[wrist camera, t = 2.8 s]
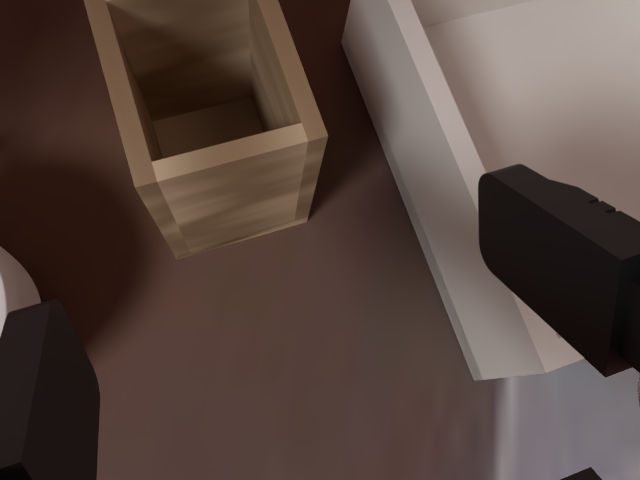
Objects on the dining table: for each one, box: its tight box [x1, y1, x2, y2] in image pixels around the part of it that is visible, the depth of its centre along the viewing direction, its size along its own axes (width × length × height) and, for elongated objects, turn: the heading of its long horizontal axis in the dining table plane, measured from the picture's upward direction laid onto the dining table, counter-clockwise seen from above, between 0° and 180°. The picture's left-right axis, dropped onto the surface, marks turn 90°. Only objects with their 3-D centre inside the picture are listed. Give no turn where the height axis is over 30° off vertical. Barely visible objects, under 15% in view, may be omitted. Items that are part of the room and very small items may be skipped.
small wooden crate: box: [84, 0, 328, 260], centre depth 20 cm, size 6×6×8 cm
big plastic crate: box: [341, 0, 640, 381], centre depth 23 cm, size 16×16×6 cm
